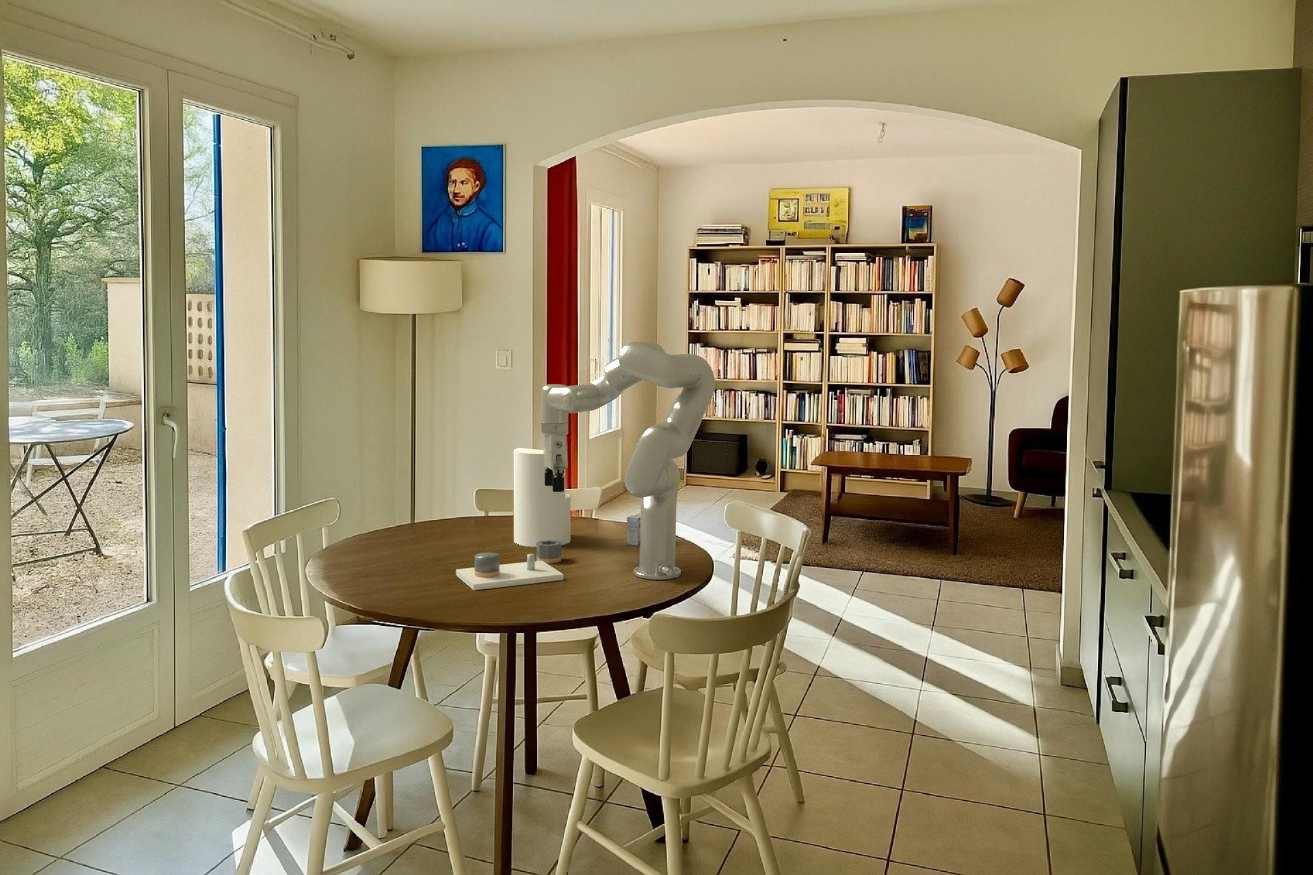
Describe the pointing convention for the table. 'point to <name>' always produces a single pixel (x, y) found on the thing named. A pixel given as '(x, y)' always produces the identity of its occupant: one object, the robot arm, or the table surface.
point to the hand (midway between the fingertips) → (554, 488)
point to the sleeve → (548, 551)
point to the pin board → (506, 572)
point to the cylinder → (538, 502)
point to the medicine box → (633, 530)
